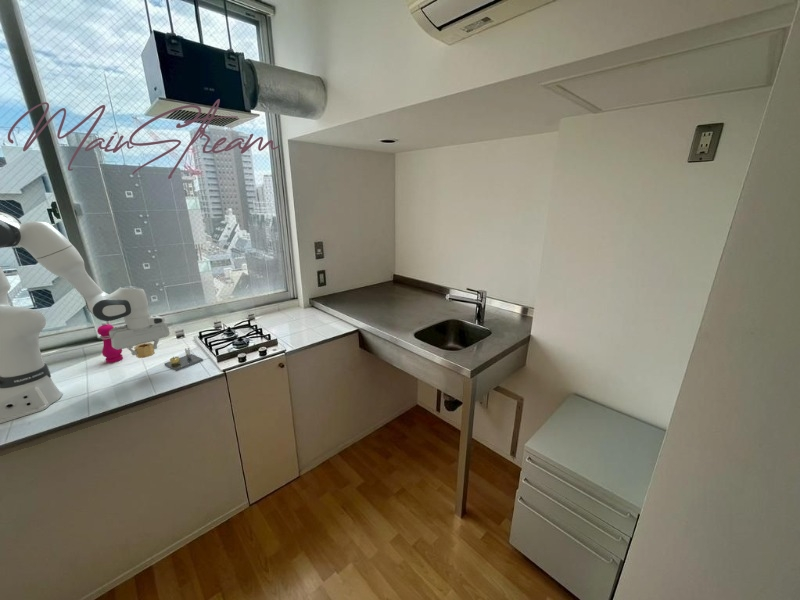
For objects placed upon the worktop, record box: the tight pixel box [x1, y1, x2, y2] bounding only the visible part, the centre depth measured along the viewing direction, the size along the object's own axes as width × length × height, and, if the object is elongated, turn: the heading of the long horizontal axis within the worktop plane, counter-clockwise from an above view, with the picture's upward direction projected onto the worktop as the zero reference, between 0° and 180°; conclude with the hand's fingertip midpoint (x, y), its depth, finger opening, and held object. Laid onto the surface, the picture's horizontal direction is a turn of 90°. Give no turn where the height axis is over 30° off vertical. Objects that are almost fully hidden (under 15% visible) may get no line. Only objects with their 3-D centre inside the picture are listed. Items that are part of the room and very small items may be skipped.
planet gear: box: [133, 342, 155, 359], centre depth 140 cm, size 6×6×4 cm
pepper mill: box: [97, 321, 124, 364], centre depth 152 cm, size 7×7×20 cm
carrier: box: [164, 347, 204, 372], centre depth 151 cm, size 12×11×6 cm
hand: (144, 351), depth 140 cm, fingers closed on planet gear, 6 cm apart
